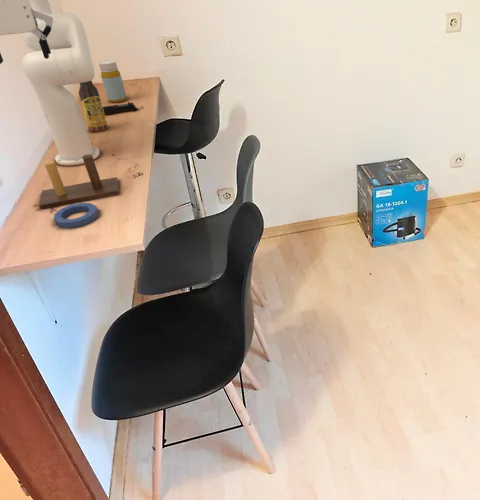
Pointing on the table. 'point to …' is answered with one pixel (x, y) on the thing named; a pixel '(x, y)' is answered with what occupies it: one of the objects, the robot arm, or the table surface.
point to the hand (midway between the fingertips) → (24, 60)
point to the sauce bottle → (92, 107)
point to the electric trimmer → (119, 108)
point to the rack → (77, 186)
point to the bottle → (112, 81)
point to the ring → (75, 222)
